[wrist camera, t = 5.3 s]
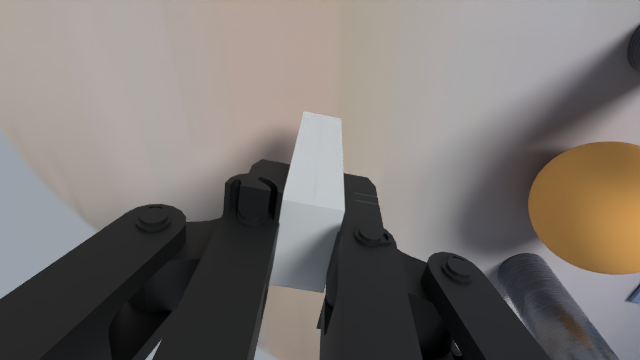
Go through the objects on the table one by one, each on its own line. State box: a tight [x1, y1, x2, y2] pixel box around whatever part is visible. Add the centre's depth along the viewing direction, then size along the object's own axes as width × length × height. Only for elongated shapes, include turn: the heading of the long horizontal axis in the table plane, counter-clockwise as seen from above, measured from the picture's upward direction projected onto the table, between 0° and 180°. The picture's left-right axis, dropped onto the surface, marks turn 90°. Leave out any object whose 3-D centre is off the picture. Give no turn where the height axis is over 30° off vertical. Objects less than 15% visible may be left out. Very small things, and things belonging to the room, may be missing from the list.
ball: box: [528, 142, 640, 274], centre depth 15 cm, size 6×6×6 cm
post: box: [498, 253, 619, 360], centre depth 16 cm, size 3×3×9 cm
